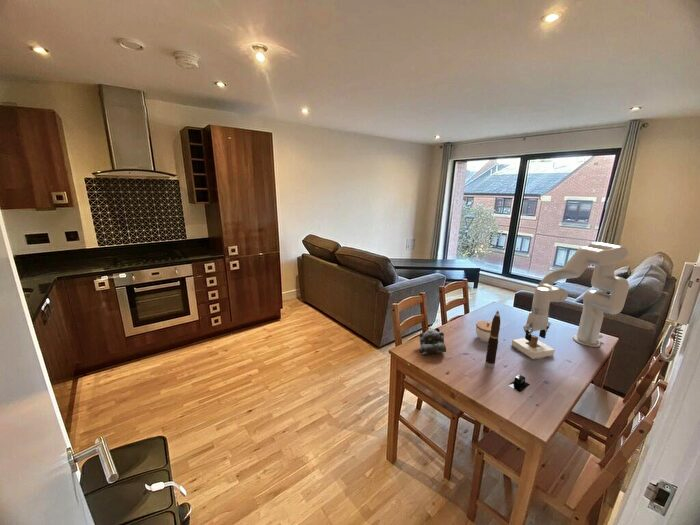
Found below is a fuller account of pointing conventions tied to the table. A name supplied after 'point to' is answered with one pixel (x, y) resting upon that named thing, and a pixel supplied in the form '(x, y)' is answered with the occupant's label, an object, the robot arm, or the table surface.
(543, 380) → the table surface
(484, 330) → the lidded bowl
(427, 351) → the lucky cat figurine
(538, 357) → the bore block
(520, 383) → the black blocky piece
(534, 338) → the pin
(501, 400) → the table surface
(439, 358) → the table surface
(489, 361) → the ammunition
